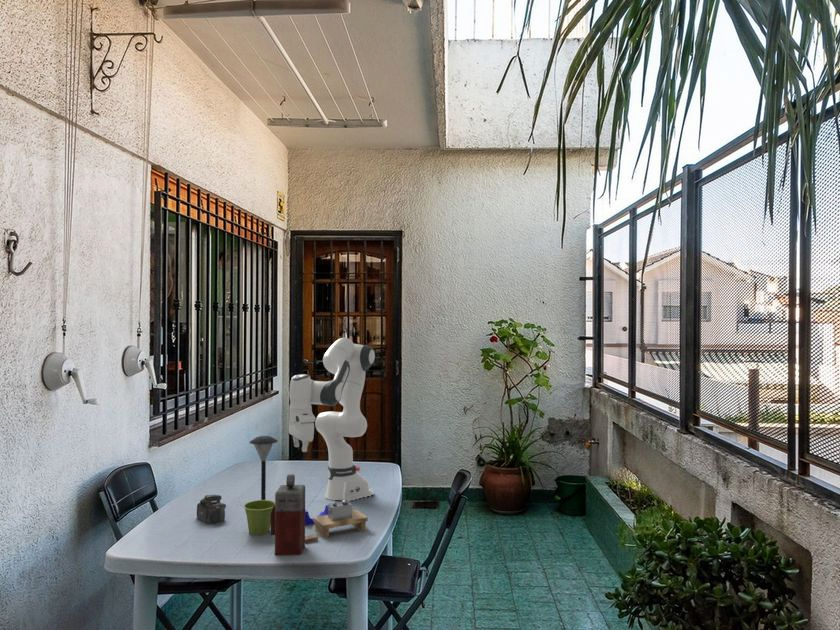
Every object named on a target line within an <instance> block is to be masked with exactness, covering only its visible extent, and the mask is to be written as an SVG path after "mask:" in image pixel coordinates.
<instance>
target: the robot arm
mask: <svg viewBox="0 0 840 630" xmlns="http://www.w3.org/2000/svg"><path fill="white" fill-rule="evenodd" d="M375 359H376V353H375V350H374V348H373V347H372V346H370V345H367V344H359V343H354V342H353V340H351V339H350V338H348V337H341V338H338V339H337V340H335V341H334V342H333V343H332V344H331V345H330V347H328V349H327V350H326V352H325V353H324V354H323V357H322V363H323V367H324V368H325V370H327V371H328V372H329V373H331V374H333V375H334V377H333V379H332V380H328V381H327V380H326V381H325V380H324V381H322V380H313V379H311V376H310V374H306V373H302V374H301V373H300V374H295V375H293V376H292V377H291V380H290V383H289V393H288V395H289V400H290V403H289V411H288V412H289V418H288V434H289V435H291V436H292V440H293V446H294V447H295V448H299V447H300V441H301V443H302V446H301V452H303V453H306V452H308V446H309V444H310V442H313V441H314V434H315V429H316V431H317V432H318V433H319V434H320V435H321V436H322V438H323V440H324V441H325V443H326V446H327V451H328V466H327V487H326V490H325V491H326V492H325V494H324V495H325V496H324V498H325V499H326V500H330V501H335V500H348V501H349V502H351V501H350V500H353V501H355V500H354V499H357V500H359V499H358V498H361V499H363V498H362V497H365V498H367V497H366V496H369V497H372V496H371V495H373V494H374V493H375V492H374V491H373V490H372V489H371V488H369V483H368V481H367V479H365V478H364V477H363V476H362V475H361V474H359V473H358V472H360V470H361V467H359V466H356V465H354V464H353V463H354V462H353V461H354V460H353V457H354V455H353V454H354V450H353V448H352V446H351V445H350V444H349V443H347V442H346V440H345V438H346V437H347V438H357V437H362V436H363V435H364V434H365V433H366V431H367V428H368V422H367V419H366V417H365V415H363V413H362V411H361V397H362V394H363V390H364V387H365V381H366V371H368V370H369V368H371V367H372V365H373V364H374V362H375ZM338 403H339V404H340V405H341V406H342V407H343V410H342V411H324V412H320V413H319V414H318V415H317V416H315V414H313V411H312V410H313V409H312V405H320V406H321V405H322V406H326V407H327V406H329V407H334V406H336V405H337V404H338ZM344 437H345V438H344ZM373 496H374V495H373Z"/></svg>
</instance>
